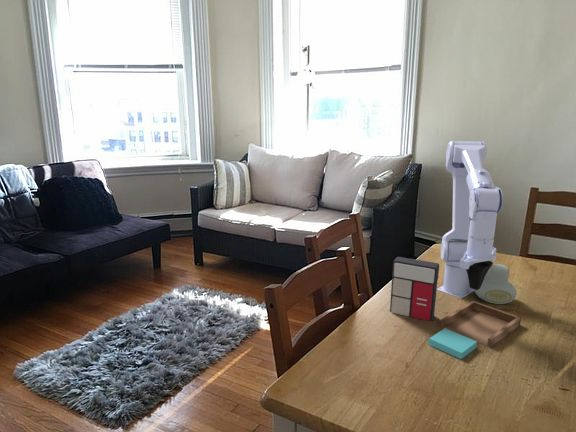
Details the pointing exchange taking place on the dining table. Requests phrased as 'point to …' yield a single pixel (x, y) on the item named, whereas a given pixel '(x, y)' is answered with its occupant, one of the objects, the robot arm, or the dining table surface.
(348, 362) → the dining table surface
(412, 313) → the calculator
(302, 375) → the dining table surface
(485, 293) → the air freshener
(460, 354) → the cover plate
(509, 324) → the walnut box
